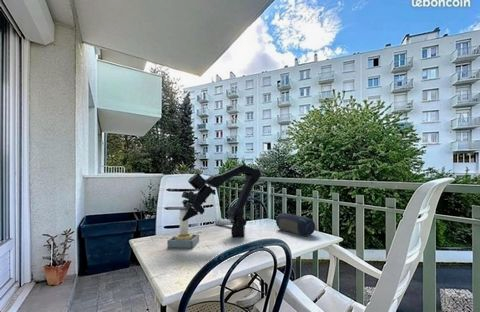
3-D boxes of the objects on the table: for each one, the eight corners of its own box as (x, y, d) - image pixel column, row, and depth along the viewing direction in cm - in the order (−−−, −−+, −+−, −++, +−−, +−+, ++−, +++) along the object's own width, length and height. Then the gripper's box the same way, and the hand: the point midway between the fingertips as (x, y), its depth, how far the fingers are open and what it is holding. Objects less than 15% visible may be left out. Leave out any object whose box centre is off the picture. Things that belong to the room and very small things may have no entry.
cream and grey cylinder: (190, 232, 128) (189, 207, 128) (184, 234, 124) (183, 208, 125) (183, 231, 130) (183, 206, 131) (177, 233, 126) (177, 207, 127)
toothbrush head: (220, 218, 175) (246, 217, 157) (221, 228, 174) (247, 228, 156) (214, 219, 171) (240, 218, 154) (214, 229, 170) (241, 230, 153)
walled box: (199, 241, 132) (199, 232, 132) (192, 248, 120) (192, 238, 120) (176, 241, 133) (176, 232, 134) (167, 248, 121) (167, 238, 122)
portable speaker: (273, 229, 155) (272, 212, 156) (285, 227, 161) (285, 211, 161) (304, 238, 134) (304, 219, 135) (317, 235, 140) (316, 217, 140)
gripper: (185, 184, 138) (164, 207, 132) (198, 186, 122) (175, 212, 116) (199, 198, 142) (179, 220, 136) (213, 201, 126) (192, 227, 120)
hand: (181, 219), depth 127 cm, fingers closed on cream and grey cylinder, 4 cm apart
